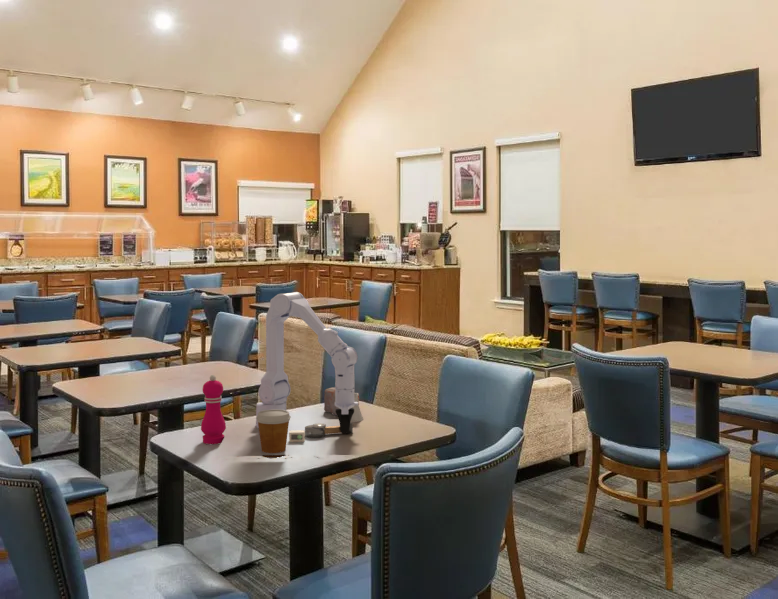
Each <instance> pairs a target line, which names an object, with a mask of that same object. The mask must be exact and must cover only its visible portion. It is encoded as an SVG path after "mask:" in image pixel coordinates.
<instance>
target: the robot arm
mask: <svg viewBox="0 0 778 599" xmlns="http://www.w3.org/2000/svg"><path fill="white" fill-rule="evenodd" d="M290 317H295V318H299V319H301V320H302V321H303V322H305V324H306V325H307V326H308V327H309V328H310V329H311V330H312V331H313V332H314V333H315V334H316V335H317V342H318V343H319V345H320V346H321V347H322V348H323V349H324V350H325V351H326V352H327V354H328V355H329V356H330V358H331V363H332V365H333V367H334V373H335V374H334V375H335V376H334V377H335V379H334V380H335V381H334V382H335V384H334V385H335V386H334V388H335V406H336V407H338V408H340V409H336V414H337V415H336V416H337V419H338V421H339V426H340V429H341V433H340V434H346V433H348V432H349V428H350V422H351V418H352V415H353V413H354V408H352V407H353V406H355V405H358V402H354V393H355V365H356V364H357V362H358V361H359V360H358V359H359V356H358V353H357V350H356V349H355V348H354V347H351V346H348V344H347V343H346V342H344V340H342V339H341V337H340V336H339V335H338V334H339V332H338V331H337V330H334V329H332V328H327V327H326V325H325V324H324V322H322V320H321V319H320V317H318V315H317V314H316V312H315V310H313V308H311V306H310V302H309V301H308V300H307V298H306V297H305V296H304V295H303V294H302V293H301V292H298V291H293V292H287V293H278V294H276V295H275V296H274V297H272V298H271V299H270V306H269V308H268V310H267V313H266V315H265V346H266V347H265V348H266V349H265V361H266V362H265V363H266V364H265V366H266V367H265V369H266V370H265V373H264V374H263V376H262V377H261V379H260V386H259V388H258V391H257V392H258V397H259V399H260V401H261V402H257V403H256V408H255V413H256V414H255V428H256V429H259V426H258V421H257V419H256V417H257V415H258V412H260V411H264V410H273V409H278V410H286V411H287V401H288V397H289V396H290V394H291V385H290V382H289V376H288V374H287V373H286V372H285V343H284V342H285V340H284V339H285V338H284V336H285V329H284V328H285V327H284V325H285V324H284V323H285V321H287V320H288V318H290Z"/></svg>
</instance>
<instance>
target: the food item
mask: <svg viewBox="0 0 778 599" xmlns="http://www.w3.org/2000/svg"><path fill="white" fill-rule="evenodd" d="M323 392H324V402H323V406H324V408H323V409H324V412H326V413H329V412H330V413H329V414H331V415H333V416H337V414H336V409H340V408H338V407H336V406H335V386H334V387H329V388H326V389H325V390H324V391H323ZM358 404H359V405H360V395H359V396H358Z"/></svg>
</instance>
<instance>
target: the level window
mask: <svg viewBox="0 0 778 599" xmlns="http://www.w3.org/2000/svg"><path fill="white" fill-rule="evenodd" d="M288 432H289V433H288V435H289V436H288V437H289V438H288V442H289V443H298V442H299V443H304V442H305V441H306V437H305V429H304V430H303V429H302V430H296V429H295V430H294V429H293V430H289V431H288Z"/></svg>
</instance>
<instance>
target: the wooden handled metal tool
mask: <svg viewBox="0 0 778 599" xmlns="http://www.w3.org/2000/svg"><path fill="white" fill-rule="evenodd" d="M353 423H354V422H350V428H349V432H348V433H345V434H346V435H351V434H353V432H354V431H353V430H354V429H353V426H354V424H353ZM304 430H305V438H309V439H320V438H324V437H325V436H326V435H328V434H329V435H330V434H331V435H332V434H342V433H341V429H340V425H334V426H333V425H331V426H327V424H325V423H320V422H317V423H313V424H310V425H306V426H305V427H304Z"/></svg>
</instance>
